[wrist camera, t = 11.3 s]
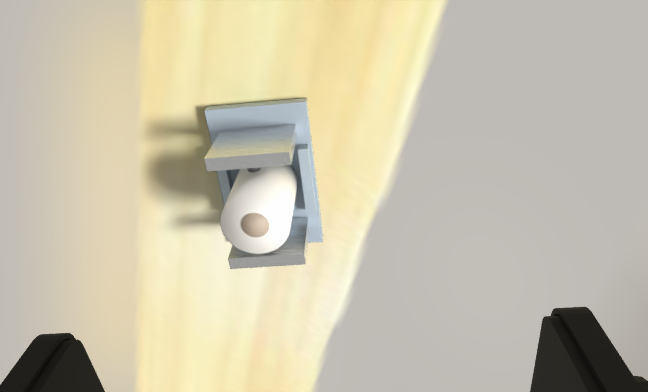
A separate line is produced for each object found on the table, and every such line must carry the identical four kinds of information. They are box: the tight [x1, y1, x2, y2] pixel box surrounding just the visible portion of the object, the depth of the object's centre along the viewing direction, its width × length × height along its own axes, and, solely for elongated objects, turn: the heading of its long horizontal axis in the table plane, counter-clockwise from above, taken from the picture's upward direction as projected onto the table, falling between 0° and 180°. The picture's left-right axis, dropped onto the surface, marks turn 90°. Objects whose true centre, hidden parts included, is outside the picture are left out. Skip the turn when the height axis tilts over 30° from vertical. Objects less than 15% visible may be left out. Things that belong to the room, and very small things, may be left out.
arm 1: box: [204, 124, 297, 172], centre depth 36 cm, size 2×6×6 cm, turn 95°
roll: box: [220, 165, 298, 254], centre depth 37 cm, size 5×5×7 cm
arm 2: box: [228, 217, 309, 269], centre depth 40 cm, size 2×6×6 cm, turn 96°
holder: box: [204, 98, 323, 243], centre depth 41 cm, size 13×8×2 cm, turn 6°
